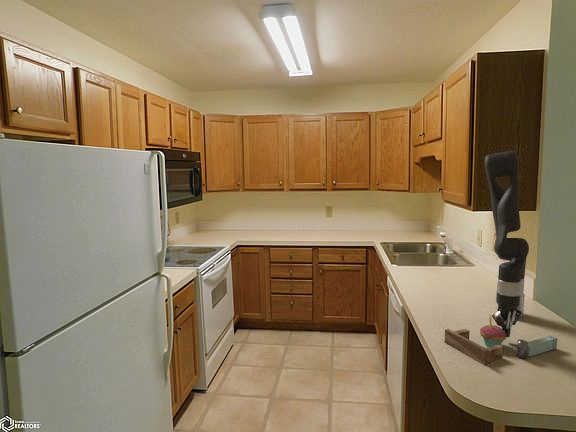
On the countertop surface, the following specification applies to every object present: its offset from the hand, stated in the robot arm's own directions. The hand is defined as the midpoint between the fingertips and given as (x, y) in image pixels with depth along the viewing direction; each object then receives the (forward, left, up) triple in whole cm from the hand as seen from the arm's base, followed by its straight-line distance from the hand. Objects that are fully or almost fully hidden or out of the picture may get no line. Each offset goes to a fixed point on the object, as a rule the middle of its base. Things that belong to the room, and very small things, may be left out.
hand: (505, 336), depth 138 cm
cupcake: (+7, 0, -2) cm, 7 cm away
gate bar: (-4, +10, -2) cm, 11 cm away
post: (+5, +10, -2) cm, 11 cm away
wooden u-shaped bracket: (+16, 0, -2) cm, 16 cm away
